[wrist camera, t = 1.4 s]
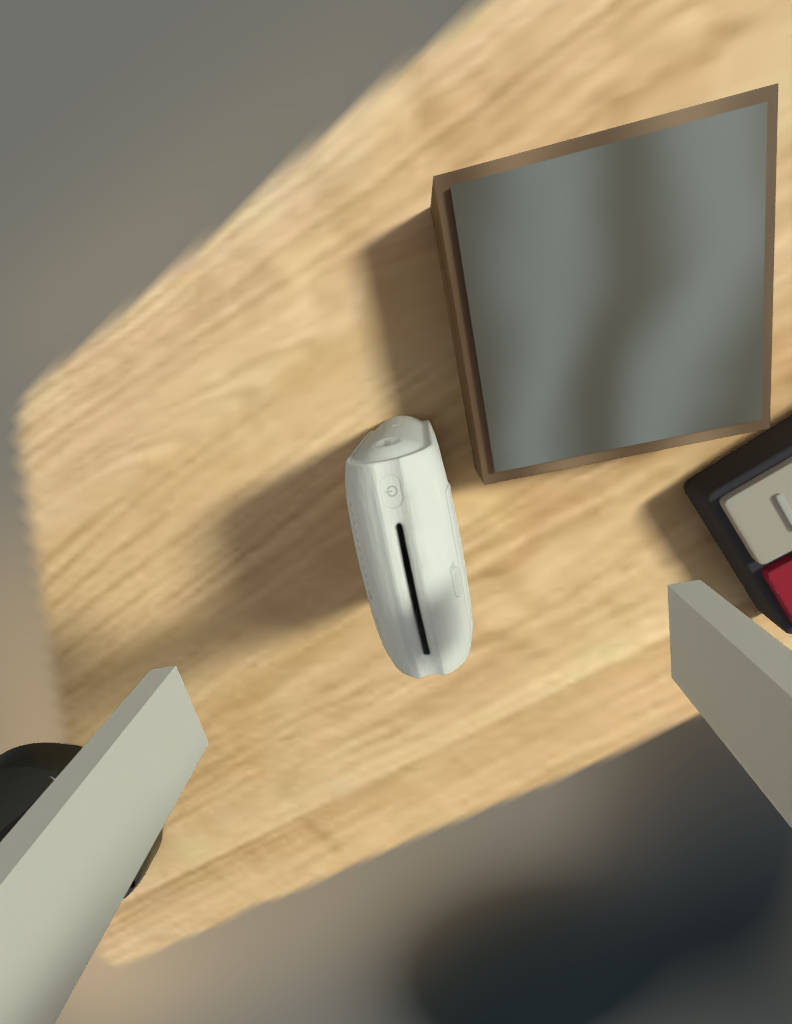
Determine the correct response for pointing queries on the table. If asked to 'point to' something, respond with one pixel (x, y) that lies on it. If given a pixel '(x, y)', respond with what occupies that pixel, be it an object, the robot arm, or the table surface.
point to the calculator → (754, 517)
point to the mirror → (614, 288)
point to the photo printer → (410, 547)
